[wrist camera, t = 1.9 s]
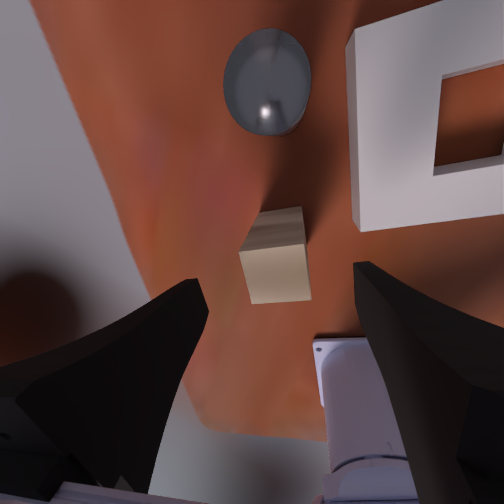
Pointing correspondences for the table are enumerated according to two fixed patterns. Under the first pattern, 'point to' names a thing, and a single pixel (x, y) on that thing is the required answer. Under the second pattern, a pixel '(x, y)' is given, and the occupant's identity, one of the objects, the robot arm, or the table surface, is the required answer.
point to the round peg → (267, 83)
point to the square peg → (277, 257)
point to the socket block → (418, 115)
